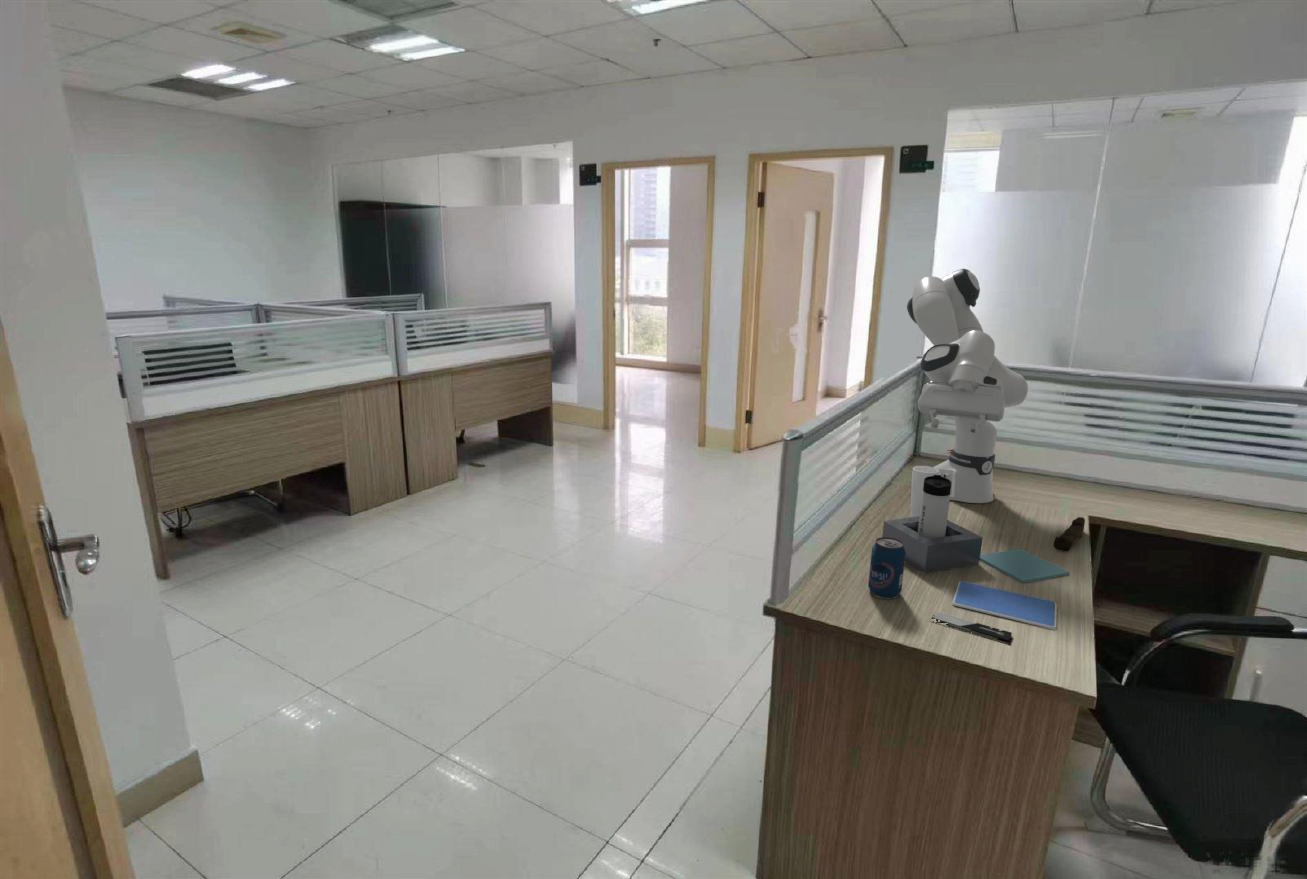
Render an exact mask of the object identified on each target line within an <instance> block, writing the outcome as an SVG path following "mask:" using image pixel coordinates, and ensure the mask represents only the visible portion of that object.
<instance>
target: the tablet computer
mask: <svg viewBox="0 0 1307 879" xmlns="http://www.w3.org/2000/svg"><path fill="white" fill-rule="evenodd" d="M952 606H955V607H957V608H963V609H967V610H971V611H975V612H978V613H982V614H987V615H991V616H996V617H998V618H999V617H1001V618H1003V619H1007V620H1011V619H1012V620H1011V621H1016V622H1020V623H1024V624H1027V623H1028V625H1031V624H1032V626H1035V625H1036V627H1040V628H1044V629H1047V628H1049V629H1048V630H1051V629H1053V631H1055V630H1054V629H1056V630H1057V611H1056V610H1057V609H1058V608H1057V603H1056V602H1055V601H1054V600H1048V599H1044V598H1040V597H1035V596H1030V595H1027V594H1021V593H1016V592H1013V591H1008V590H1005V589H999V588H996V587H990V586H987V585H982V584H978V583H972V582H968V581H965V580H961V581H959V582H958V584H957V587H956V590H955V593H954V598H953V600H952Z"/></svg>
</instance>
